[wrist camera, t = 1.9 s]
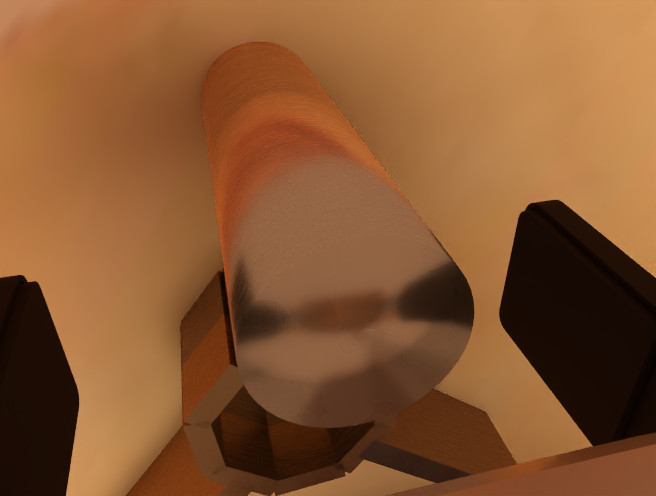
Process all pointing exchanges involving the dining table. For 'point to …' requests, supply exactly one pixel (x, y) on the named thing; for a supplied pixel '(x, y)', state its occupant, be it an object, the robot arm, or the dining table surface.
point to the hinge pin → (322, 252)
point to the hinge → (297, 429)
